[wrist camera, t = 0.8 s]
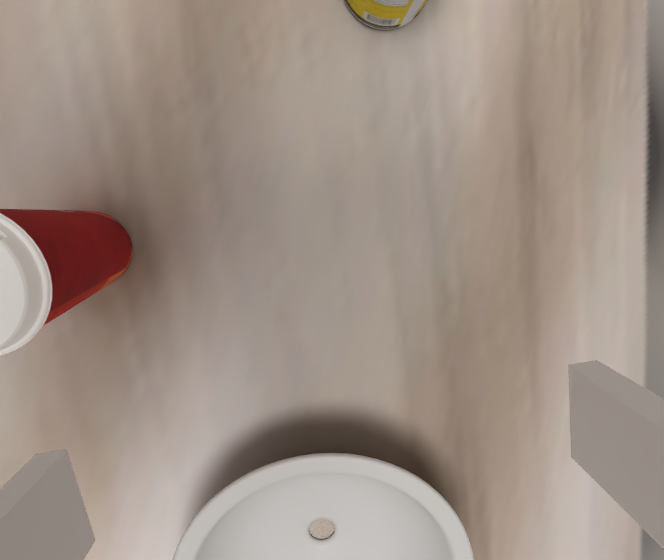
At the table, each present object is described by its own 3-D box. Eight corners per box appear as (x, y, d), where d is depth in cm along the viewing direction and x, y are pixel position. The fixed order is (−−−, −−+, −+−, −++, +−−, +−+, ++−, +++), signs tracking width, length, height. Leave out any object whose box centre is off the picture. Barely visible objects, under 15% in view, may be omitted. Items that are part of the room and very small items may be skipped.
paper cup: (69, 177, 31) (-111, 167, 18) (164, 230, 33) (63, 258, 19) (26, 266, 33) (-175, 321, 19) (119, 314, 34) (-6, 398, 20)
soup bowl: (152, 451, 37) (119, 507, 30) (418, 378, 37) (442, 418, 30) (236, 658, 42) (224, 744, 35) (468, 593, 42) (499, 666, 36)
